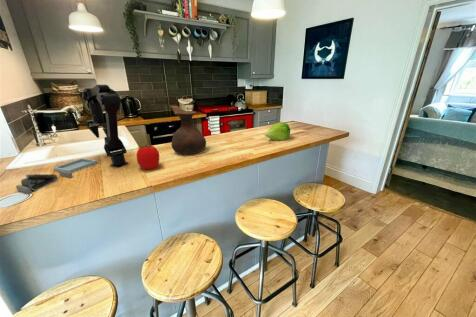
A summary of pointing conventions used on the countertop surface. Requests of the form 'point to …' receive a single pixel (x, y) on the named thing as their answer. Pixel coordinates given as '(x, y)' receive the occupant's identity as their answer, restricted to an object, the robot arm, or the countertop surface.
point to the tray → (75, 165)
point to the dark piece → (38, 181)
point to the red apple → (148, 157)
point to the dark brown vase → (187, 134)
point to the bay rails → (27, 190)
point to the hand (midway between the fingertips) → (103, 138)
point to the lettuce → (278, 131)
